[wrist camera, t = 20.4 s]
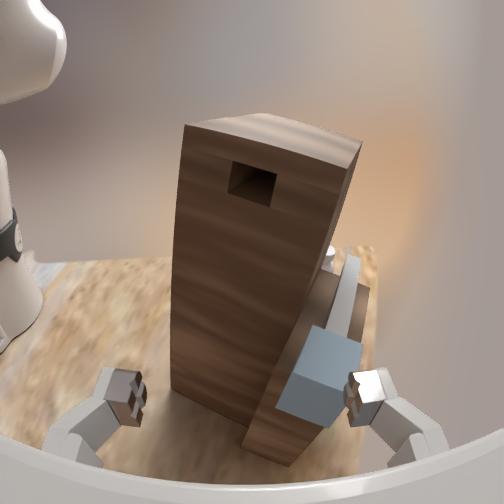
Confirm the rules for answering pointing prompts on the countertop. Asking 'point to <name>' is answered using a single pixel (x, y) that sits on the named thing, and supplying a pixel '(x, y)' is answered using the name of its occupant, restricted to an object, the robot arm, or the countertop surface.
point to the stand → (255, 267)
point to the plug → (326, 358)
